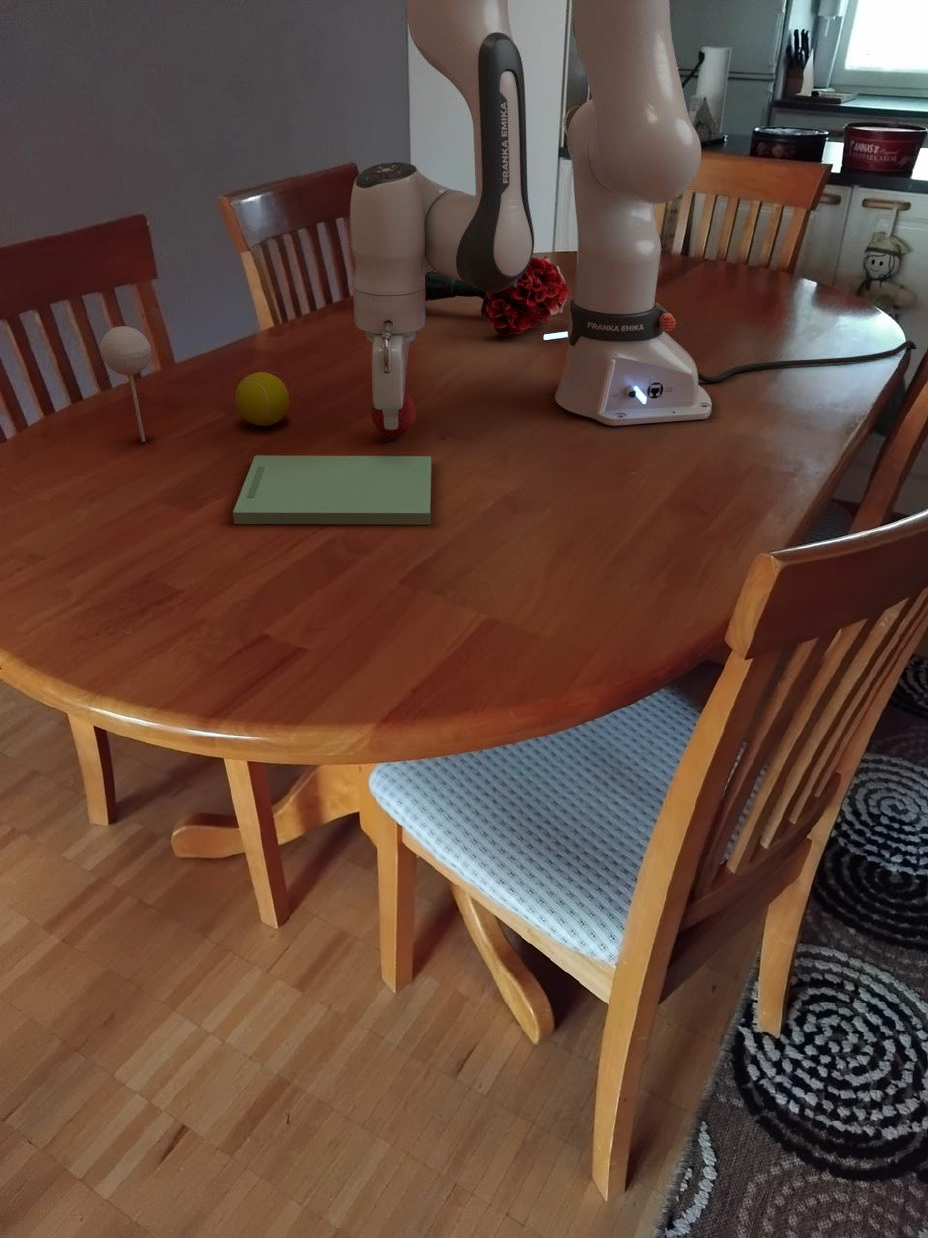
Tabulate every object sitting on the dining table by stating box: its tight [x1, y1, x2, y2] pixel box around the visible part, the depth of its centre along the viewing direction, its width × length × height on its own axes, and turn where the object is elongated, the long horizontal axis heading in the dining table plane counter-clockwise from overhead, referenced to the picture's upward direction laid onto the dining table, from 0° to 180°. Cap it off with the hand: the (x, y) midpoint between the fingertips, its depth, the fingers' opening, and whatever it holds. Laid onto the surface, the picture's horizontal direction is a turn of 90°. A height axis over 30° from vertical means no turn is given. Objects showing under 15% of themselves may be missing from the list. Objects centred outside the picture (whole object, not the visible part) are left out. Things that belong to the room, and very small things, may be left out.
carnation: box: [425, 255, 570, 338], centre depth 164 cm, size 16×18×35 cm
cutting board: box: [232, 454, 432, 526], centre depth 111 cm, size 22×15×2 cm
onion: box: [371, 390, 417, 441], centre depth 123 cm, size 6×6×8 cm
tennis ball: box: [234, 371, 290, 427], centre depth 127 cm, size 7×7×7 cm
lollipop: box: [99, 325, 152, 443], centre depth 119 cm, size 6×6×15 cm
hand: (392, 416), depth 123 cm, fingers closed on onion, 6 cm apart
